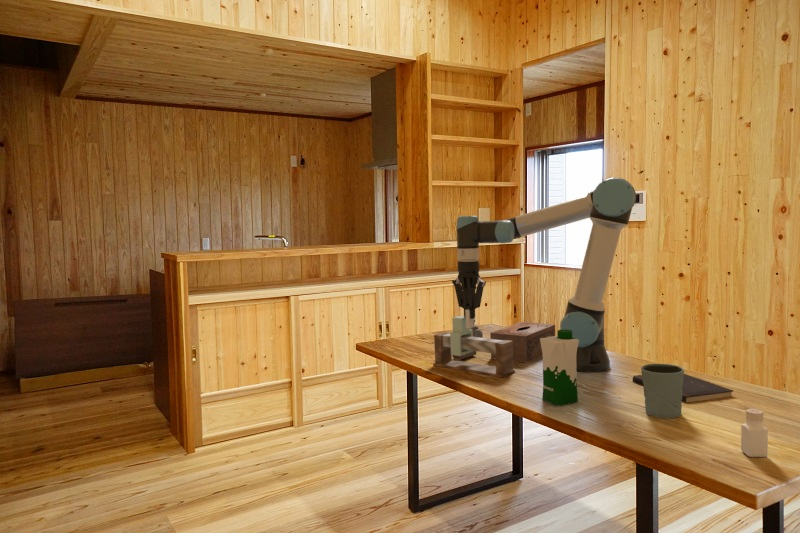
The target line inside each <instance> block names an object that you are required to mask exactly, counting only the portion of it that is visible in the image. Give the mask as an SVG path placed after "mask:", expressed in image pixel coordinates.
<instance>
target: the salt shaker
mask: <svg viewBox="0 0 800 533" xmlns="http://www.w3.org/2000/svg"><path fill="white" fill-rule="evenodd" d="M763 421H764V411H763V410H762V409H761V410H760V409H757V408H756V409H755V408H747V409H745V423H742V424H741V425H740V427H741V428H740V432H741V433H740V449H741V452H743V453H744V454H745V455H746V456H748V457H750V458H767V457H768V455H769V454H768V452H769V451H768V449H769V448H768V447H769V445H768V444H769V443H768V442H769V431H768V430H769V429H768V428H767V426H764V424H763Z"/></svg>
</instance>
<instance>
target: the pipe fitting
mask: <svg viewBox="0 0 800 533" xmlns="http://www.w3.org/2000/svg"><path fill="white" fill-rule="evenodd" d="M475 323H476V319H475V318H474V327H473V328H470V329H471V330H473V337H480V338H484V337H483V335H484V334H483V331H482V330H481V329H479V326H478V325H476V324H475Z"/></svg>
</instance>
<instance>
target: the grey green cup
mask: <svg viewBox="0 0 800 533" xmlns="http://www.w3.org/2000/svg"><path fill="white" fill-rule="evenodd" d="M640 370H641V375H642V380H643V385H644V386H643V385H642V386H643V396H644V406H645V413H646V414H647V415H650V416H652V417H655V418H661V419H677V418H679V417H681V416H682V408H683V406H682V404H683V403H682V402H683V401H681V400H682V392H683V390H682V386H683V377H684V374H685V369H684V368H683V367H681V366H679V365H675V364H669V363H649V364H644V365H642V366H641V368H640Z"/></svg>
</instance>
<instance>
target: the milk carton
mask: <svg viewBox="0 0 800 533" xmlns="http://www.w3.org/2000/svg"><path fill="white" fill-rule="evenodd" d="M540 342H541V348H542V354H543V355H542V401H545V402H548V403H550V404H552V405H554V406H556V407H561V406H566V405H570V404H576V403H579V398H578V385H577V377H578V376H577V372H578V371H576V353H577V348H578V343H579V340H578V339H576V338H573V337H572V330H560V329H558V330H557V335H555V336H552V337H547V338H540Z"/></svg>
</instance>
